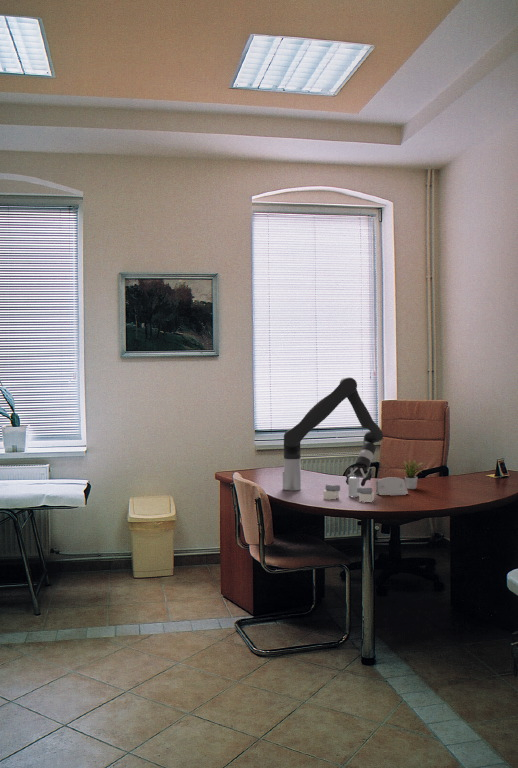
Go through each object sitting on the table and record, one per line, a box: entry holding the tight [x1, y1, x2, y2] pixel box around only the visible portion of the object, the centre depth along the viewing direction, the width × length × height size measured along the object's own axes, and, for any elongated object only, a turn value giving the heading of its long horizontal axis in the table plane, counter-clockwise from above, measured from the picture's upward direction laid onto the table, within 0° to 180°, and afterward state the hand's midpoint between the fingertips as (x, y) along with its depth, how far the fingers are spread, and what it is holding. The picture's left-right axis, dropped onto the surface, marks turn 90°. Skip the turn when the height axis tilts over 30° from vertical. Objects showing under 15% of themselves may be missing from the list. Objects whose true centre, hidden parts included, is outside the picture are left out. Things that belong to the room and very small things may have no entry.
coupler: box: [348, 476, 360, 498], centre depth 351 cm, size 4×4×10 cm
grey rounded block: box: [375, 476, 409, 496], centre depth 357 cm, size 17×5×10 cm, turn 101°
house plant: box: [399, 458, 425, 490], centre depth 371 cm, size 14×14×16 cm
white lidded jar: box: [323, 484, 341, 500], centre depth 347 cm, size 8×6×7 cm
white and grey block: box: [357, 486, 375, 503], centre depth 339 cm, size 8×6×7 cm
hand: (354, 484), depth 351 cm, fingers open, 8 cm apart
